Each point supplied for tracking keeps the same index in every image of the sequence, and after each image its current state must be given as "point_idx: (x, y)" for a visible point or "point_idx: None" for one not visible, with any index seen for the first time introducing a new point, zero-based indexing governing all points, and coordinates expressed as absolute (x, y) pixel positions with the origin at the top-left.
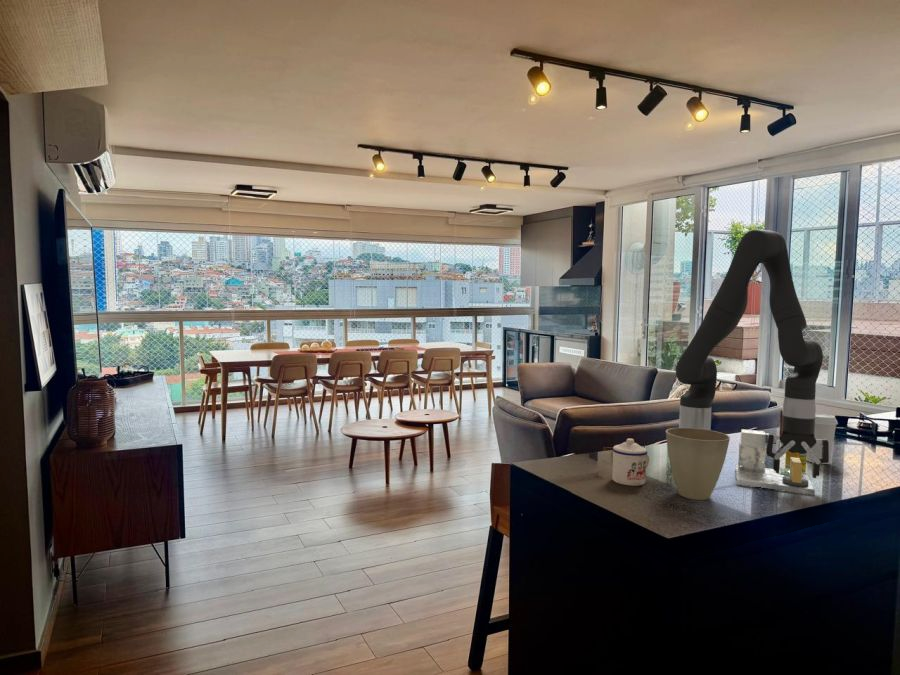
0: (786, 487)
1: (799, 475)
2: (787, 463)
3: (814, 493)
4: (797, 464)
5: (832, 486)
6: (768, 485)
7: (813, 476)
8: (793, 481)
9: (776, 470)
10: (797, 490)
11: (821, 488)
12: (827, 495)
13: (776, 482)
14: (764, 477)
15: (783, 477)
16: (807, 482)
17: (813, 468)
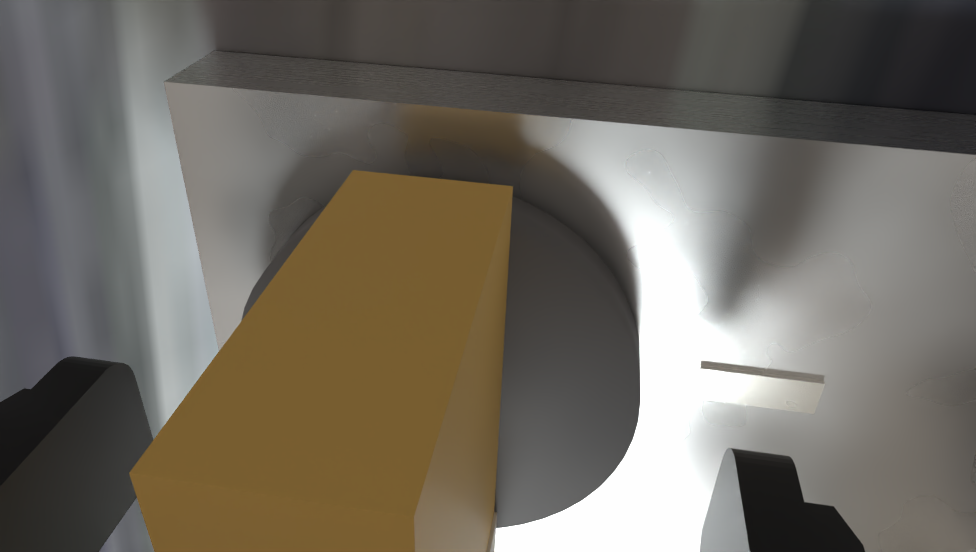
0: (630, 110)
1: (339, 253)
2: None
3: (199, 60)
4: (288, 471)
5: None
6: (961, 141)
7: (104, 372)
8: (492, 188)
9: (801, 492)
10: (448, 87)
11: (164, 424)
12: (61, 141)
13: (759, 299)
14: (869, 509)
15: (616, 438)
16: (253, 288)
17: (8, 521)
